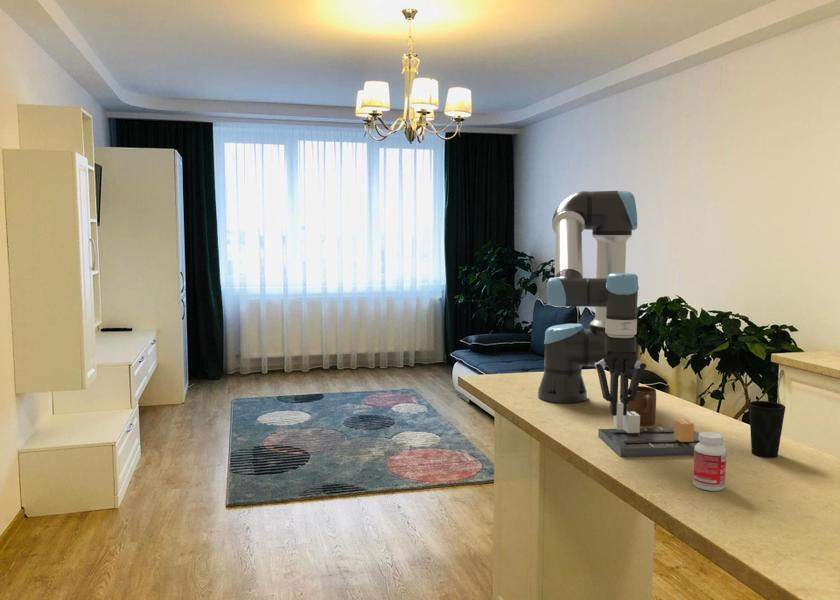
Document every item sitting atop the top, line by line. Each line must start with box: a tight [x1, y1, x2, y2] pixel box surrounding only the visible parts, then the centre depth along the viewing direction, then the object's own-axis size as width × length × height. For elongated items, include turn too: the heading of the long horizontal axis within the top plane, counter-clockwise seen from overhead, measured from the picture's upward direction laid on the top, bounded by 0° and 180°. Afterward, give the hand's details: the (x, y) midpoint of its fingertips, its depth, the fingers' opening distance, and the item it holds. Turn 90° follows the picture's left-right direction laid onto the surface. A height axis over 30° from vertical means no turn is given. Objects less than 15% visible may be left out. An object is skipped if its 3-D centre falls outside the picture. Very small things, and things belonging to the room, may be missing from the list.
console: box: [597, 426, 700, 458], centre depth 171 cm, size 16×24×2 cm, turn 94°
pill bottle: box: [692, 431, 727, 492], centre depth 143 cm, size 6×6×11 cm
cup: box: [748, 400, 786, 459], centre depth 163 cm, size 8×8×12 cm
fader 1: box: [623, 411, 641, 433], centre depth 174 cm, size 4×3×4 cm
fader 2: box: [673, 418, 695, 442], centre depth 167 cm, size 4×3×4 cm
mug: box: [627, 385, 657, 426], centre depth 188 cm, size 12×8×9 cm, turn 179°
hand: (617, 427), depth 174 cm, fingers closed
